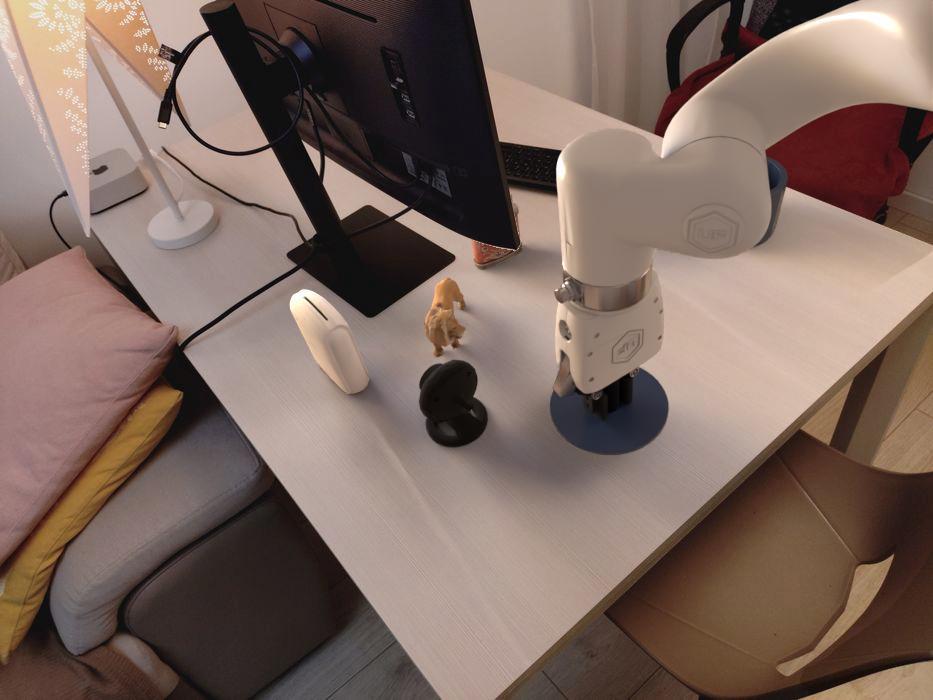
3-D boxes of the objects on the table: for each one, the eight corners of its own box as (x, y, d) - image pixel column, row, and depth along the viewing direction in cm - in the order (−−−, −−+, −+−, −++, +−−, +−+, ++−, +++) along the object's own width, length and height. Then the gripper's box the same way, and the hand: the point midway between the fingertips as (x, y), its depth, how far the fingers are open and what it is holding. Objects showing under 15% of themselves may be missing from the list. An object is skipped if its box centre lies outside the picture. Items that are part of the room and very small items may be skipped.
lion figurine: (474, 370, 81) (463, 321, 74) (433, 377, 81) (419, 328, 74) (465, 294, 91) (455, 245, 84) (429, 300, 91) (416, 251, 84)
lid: (694, 417, 66) (700, 377, 62) (599, 480, 63) (598, 443, 58) (614, 349, 74) (615, 309, 70) (527, 402, 71) (521, 364, 67)
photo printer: (311, 359, 86) (278, 293, 77) (337, 342, 88) (308, 275, 79) (348, 401, 80) (317, 334, 71) (376, 382, 82) (349, 315, 73)
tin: (792, 225, 90) (807, 174, 84) (733, 260, 87) (743, 210, 81) (729, 192, 98) (738, 143, 91) (672, 223, 95) (678, 174, 88)
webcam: (461, 388, 79) (447, 333, 72) (502, 420, 75) (492, 365, 67) (413, 425, 76) (394, 372, 69) (453, 461, 72) (437, 409, 64)
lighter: (481, 273, 93) (471, 217, 86) (470, 261, 96) (460, 206, 88) (527, 251, 95) (521, 195, 88) (515, 240, 97) (508, 184, 90)
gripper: (558, 342, 50) (569, 466, 64) (709, 253, 54) (690, 387, 68) (506, 294, 55) (526, 418, 68) (648, 216, 59) (641, 348, 72)
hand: (607, 402), depth 68 cm, fingers closed on lid, 2 cm apart
